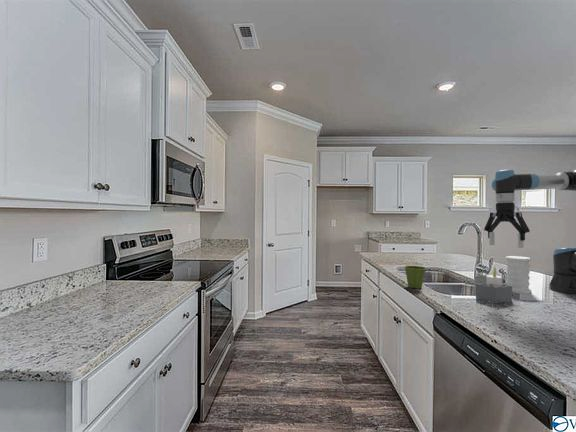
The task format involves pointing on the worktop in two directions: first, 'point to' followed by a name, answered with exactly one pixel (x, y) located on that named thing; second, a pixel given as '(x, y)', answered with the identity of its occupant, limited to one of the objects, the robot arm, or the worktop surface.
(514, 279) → the decorative container
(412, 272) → the plant pot
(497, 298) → the slate holder
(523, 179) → the robot arm
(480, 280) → the teacup
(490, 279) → the candle
